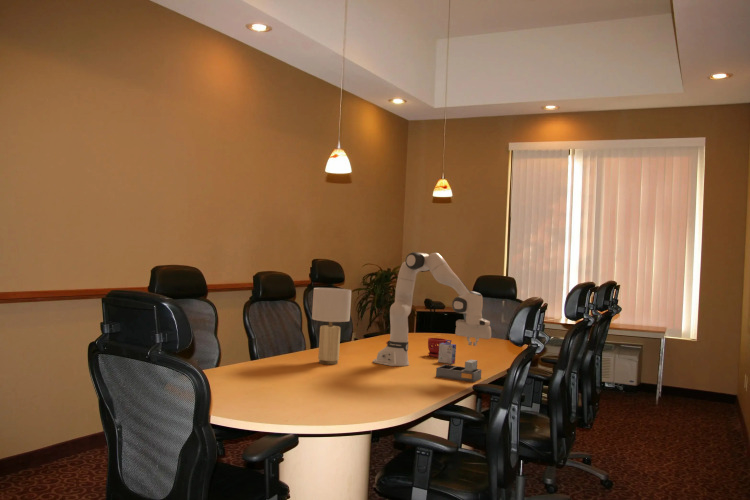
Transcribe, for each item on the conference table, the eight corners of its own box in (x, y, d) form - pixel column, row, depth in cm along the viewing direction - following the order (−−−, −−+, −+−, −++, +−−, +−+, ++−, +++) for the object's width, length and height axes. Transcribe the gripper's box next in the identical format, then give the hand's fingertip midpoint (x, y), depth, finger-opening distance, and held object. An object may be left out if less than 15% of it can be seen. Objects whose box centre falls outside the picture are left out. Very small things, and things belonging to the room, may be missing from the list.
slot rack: (435, 376, 353) (436, 367, 353) (444, 372, 366) (445, 364, 366) (473, 382, 343) (473, 373, 343) (480, 378, 356) (481, 369, 356)
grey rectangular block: (464, 377, 348) (465, 361, 348) (469, 375, 357) (470, 359, 357) (471, 379, 346) (472, 362, 346) (476, 376, 355) (477, 360, 355)
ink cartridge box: (455, 363, 400) (456, 340, 401) (451, 364, 396) (453, 341, 396) (441, 361, 406) (443, 338, 406) (437, 362, 401) (439, 339, 401)
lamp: (347, 360, 387) (351, 289, 387) (346, 367, 364) (351, 291, 364) (310, 358, 386) (314, 287, 387) (307, 365, 364) (312, 289, 364)
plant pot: (447, 358, 418) (448, 340, 418) (427, 357, 418) (428, 339, 418) (445, 355, 431) (446, 337, 431) (426, 354, 431) (427, 336, 431)
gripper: (454, 319, 353) (453, 343, 353) (489, 323, 344) (488, 348, 344) (458, 318, 359) (456, 342, 359) (492, 322, 350) (491, 346, 350)
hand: (472, 345), depth 351 cm, fingers closed
